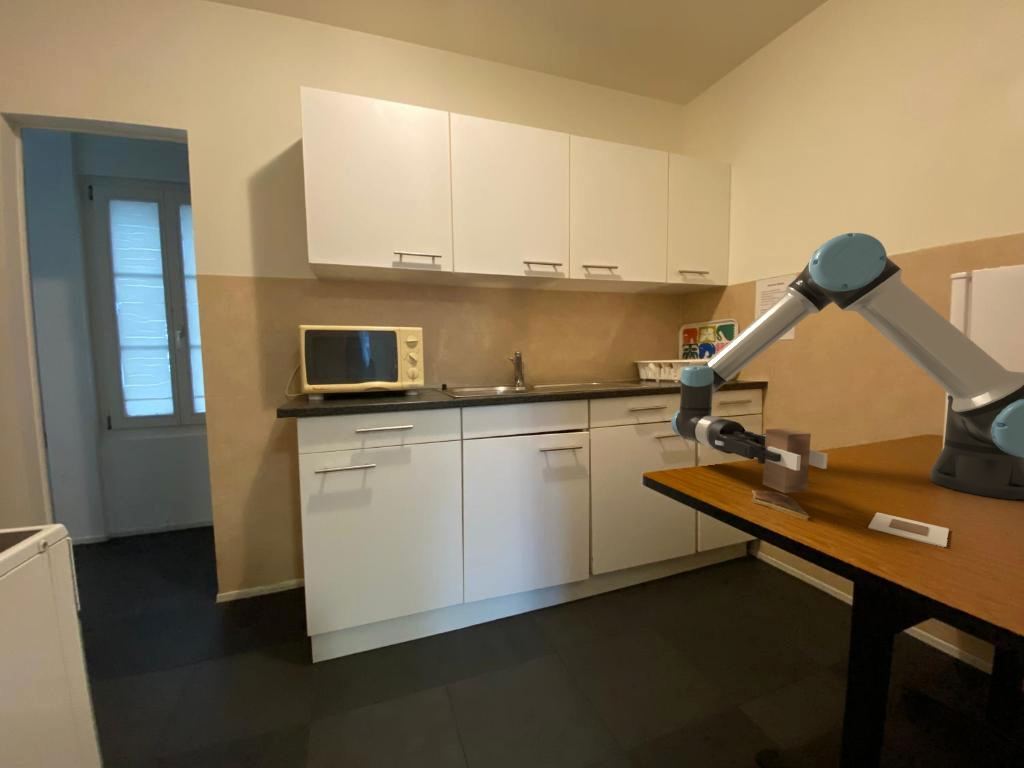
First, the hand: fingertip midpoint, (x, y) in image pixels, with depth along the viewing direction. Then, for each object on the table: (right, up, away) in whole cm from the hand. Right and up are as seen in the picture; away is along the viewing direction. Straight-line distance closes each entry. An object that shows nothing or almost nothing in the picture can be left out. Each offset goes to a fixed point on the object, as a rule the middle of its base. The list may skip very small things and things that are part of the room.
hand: (811, 462), depth 72 cm
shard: (-1, -10, +6) cm, 12 cm away
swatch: (+13, -11, -4) cm, 17 cm away
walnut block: (-1, -6, +6) cm, 8 cm away
